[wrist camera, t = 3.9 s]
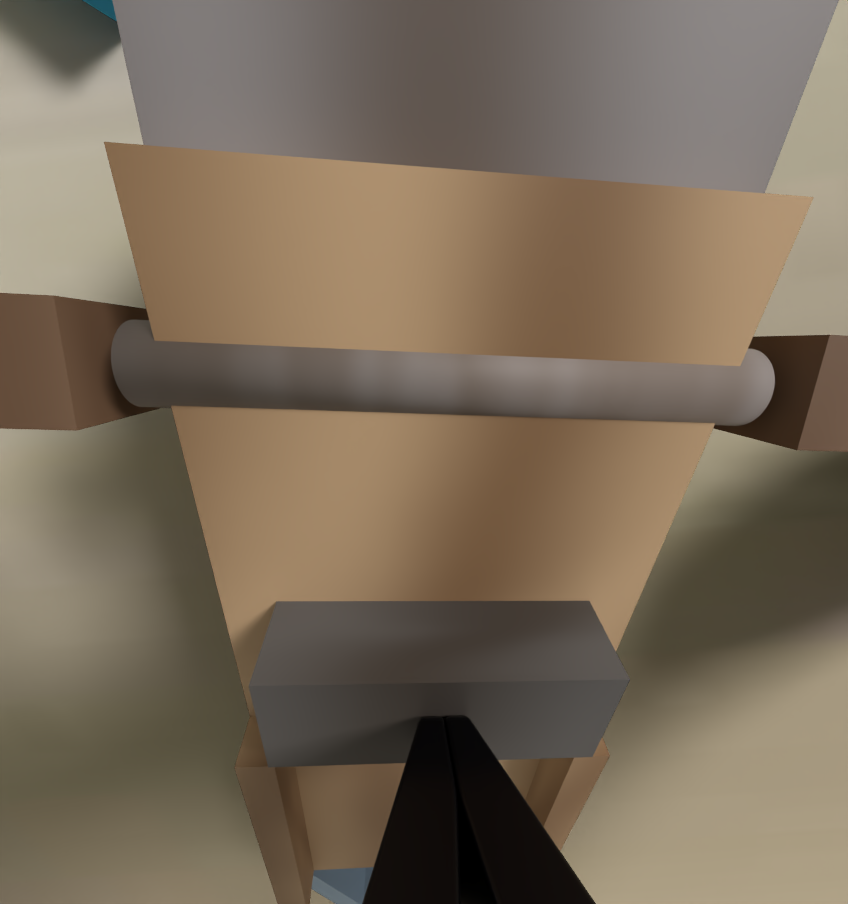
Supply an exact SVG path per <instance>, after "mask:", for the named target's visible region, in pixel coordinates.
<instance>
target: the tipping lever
mask: <svg viewBox="0 0 848 904" xmlns="http://www.w3.org/2000/svg"><path fill="white" fill-rule="evenodd" d="M112 1H113V6H114V10H115V15H116V20H117V24H118V29H119V33H120V38H121V43H122V47H123V52H124V56H125V61H126V66H127V70H128V75H129V79H130V84H131V89H132V93H133V98H134V102H135V107H136V112H137V116H138V121H139V125H140V130H141V135H142V139H143V144H144V145H137V144H124V143H111V142H104V144H105V148H106V152H107V156H108V160H109V164H110V168H111V172H112V176H113V180H114V183H115V187H116V191H117V195H118V199H119V203H120V207H121V211H122V215H123V219H124V223H125V227H126V231H127V235H128V239H129V242H130V246H131V250H132V254H133V258H134V262H135V266H136V270H137V274H138V278H139V282H140V286H141V290H142V294H143V298H144V302H145V305H146V309H147V313H148V317H149V320H128V321H126V322H124V323H123V324H121V326H120V327H119V328H118V329H117V331H116V333H115V335H114V338H113V342H112V347H111V364H112V371H113V375H114V378H115V381H116V384H117V386H118V388H119V390H120V391H121V393H122V394H123V396H124V397H125V398H126V399H127V400H128V401H129V402H130V403H132V404H133V405H135V406H138V407H160V408H172V412H173V416H174V420H175V423H176V427H177V431H178V435H179V439H180V443H181V447H182V451H183V455H184V459H185V463H186V467H187V471H188V475H189V479H190V482H191V486H192V490H193V494H194V498H195V502H196V506H197V510H198V514H199V518H200V522H201V526H202V530H203V534H204V538H205V542H206V545H207V549H208V553H209V557H210V561H211V565H212V569H213V573H214V577H215V581H216V585H217V589H218V593H219V597H220V601H221V604H222V608H223V612H224V616H225V620H226V624H227V628H228V632H229V636H230V640H231V644H232V648H233V652H234V656H235V660H236V663H237V667H238V671H239V675H240V679H241V683H242V687H243V691H244V695H245V699H246V703H247V707H248V711H249V715H250V718H249V721H248V725H247V728H246V731H245V734H244V738H243V741H242V744H241V747H240V751H239V754H238V757H237V760H236V764H235V767H234V768H235V771H236V775H237V778H238V781H239V784H240V787H241V790H242V793H243V796H244V800H245V803H246V806H247V809H248V812H249V815H250V818H251V821H252V825H253V828H254V831H255V834H256V837H257V840H258V843H259V846H260V850H261V853H262V856H263V859H264V862H265V865H266V868H267V872H268V875H269V878H270V881H271V884H272V887H273V890H274V893H275V897H276V900H277V903H278V904H309V903H310V896H311V888H312V881H313V873H314V870H328V869H347V868H367V867H374V864H375V861H376V857H377V854H378V851H379V848H380V845H381V841H382V838H383V835H384V832H385V828H386V825H387V822H388V819H389V815H390V812H391V809H392V806H393V803H394V799H395V796H396V793H397V790H398V786H399V783H400V780H401V777H402V773H403V770H404V767H405V764H406V760H407V757H408V754H409V751H410V748H411V744H412V741H413V738H414V735H415V731H416V728H417V725H418V722H419V720H420V718H422V717H436V716H440V717H442V718H443V719H445V718H446V717H447V716H467V717H469V718H470V720H471V721H472V722H473V724H474V725H475V727H476V728H477V730H478V731H479V733H480V734H481V736H482V737H483V739H484V740H485V742H486V743H487V745H488V746H489V747H490V749H491V750H492V752H493V753H494V755H495V756H496V758H497V759H498V761H499V762H500V764H501V765H502V767H503V768H504V770H505V771H506V772H507V774H508V775H509V777H510V778H511V780H512V781H513V783H514V784H515V786H516V787H517V789H518V790H519V792H520V793H521V795H522V796H523V797H524V799H525V800H526V802H527V803H528V805H529V806H530V808H531V809H532V811H533V812H534V814H535V815H536V817H537V818H538V820H539V821H540V822H541V824H542V825H543V827H544V828H545V830H546V831H547V833H548V834H549V836H550V837H551V839H552V840H553V842H554V843H555V845H556V846H557V847H558V849H559V850H561V848H562V846H563V845H564V843H565V841H566V839H567V837H568V835H569V833H570V831H571V829H572V827H573V825H574V823H575V822H576V820H577V818H578V816H579V814H580V812H581V810H582V808H583V806H584V804H585V802H586V801H587V799H588V797H589V795H590V793H591V791H592V789H593V787H594V785H595V783H596V781H597V779H598V778H599V776H600V774H601V772H602V770H603V768H604V766H605V764H606V762H607V760H608V758H609V756H610V755H609V752H608V750H607V747H606V745H605V742H604V740H603V737H602V736H603V734H604V732H605V730H606V728H607V726H608V724H609V722H610V720H611V718H612V716H613V714H614V712H615V709H616V707H617V705H618V703H619V701H620V699H621V697H622V695H623V693H624V691H625V689H626V687H627V685H628V683H629V681H630V678H629V676H628V675H627V673H626V671H625V669H624V667H623V665H622V663H621V661H620V659H619V657H618V655H617V653H616V650H617V648H618V646H619V643H620V641H621V639H622V637H623V634H624V632H625V630H626V627H627V625H628V623H629V621H630V618H631V616H632V614H633V611H634V609H635V607H636V604H637V602H638V600H639V598H640V595H641V593H642V591H643V588H644V586H645V584H646V581H647V579H648V577H649V575H650V572H651V570H652V568H653V565H654V563H655V561H656V559H657V556H658V554H659V552H660V549H661V547H662V545H663V542H664V540H665V538H666V536H667V533H668V531H669V529H670V526H671V524H672V522H673V519H674V517H675V515H676V513H677V510H678V508H679V506H680V503H681V501H682V499H683V496H684V494H685V492H686V490H687V487H688V485H689V483H690V480H691V478H692V476H693V474H694V471H695V469H696V467H697V464H698V462H699V460H700V457H701V455H702V453H703V451H704V448H705V446H706V444H707V441H708V439H709V437H710V434H711V432H712V430H713V428H714V425H724V426H740V425H745V424H748V423H750V422H752V421H753V420H755V419H756V418H757V417H759V416H760V415H761V414H762V413H763V411H764V410H765V409H766V407H767V406H768V404H769V402H770V400H771V398H772V395H773V391H774V386H775V374H774V369H773V367H772V364H771V362H770V360H769V359H768V358H767V357H766V356H765V355H764V354H763V353H762V352H760V351H758V350H755V349H748V347H749V345H750V343H751V340H752V338H753V336H754V333H755V331H756V329H757V327H758V324H759V322H760V320H761V317H762V315H763V313H764V310H765V308H766V306H767V304H768V301H769V299H770V297H771V294H772V292H773V290H774V287H775V285H776V283H777V281H778V278H779V276H780V274H781V271H782V269H783V267H784V265H785V262H786V260H787V258H788V255H789V253H790V251H791V248H792V246H793V244H794V242H795V239H796V237H797V235H798V232H799V230H800V228H801V225H802V223H803V221H804V219H805V216H806V214H807V212H808V209H809V207H810V205H811V203H812V200H813V198H814V197H805V196H792V195H779V194H766V193H765V190H766V188H767V185H768V183H769V180H770V178H771V175H772V172H773V170H774V167H775V165H776V162H777V159H778V157H779V154H780V152H781V149H782V146H783V144H784V141H785V139H786V136H787V133H788V131H789V128H790V126H791V123H792V120H793V118H794V115H795V113H796V110H797V107H798V105H799V102H800V100H801V97H802V94H803V92H804V89H805V87H806V84H807V81H808V79H809V76H810V74H811V71H812V68H813V66H814V63H815V61H816V58H817V55H818V53H819V50H820V48H821V45H822V42H823V40H824V37H825V35H826V32H827V29H828V27H829V24H830V22H831V19H832V16H833V14H834V11H835V9H836V6H837V3H838V1H839V0H112Z"/></svg>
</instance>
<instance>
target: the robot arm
mask: <svg viewBox="0 0 848 904" xmlns="http://www.w3.org/2000/svg"><path fill="white" fill-rule="evenodd" d="M362 904H596V903H595V902H594V900H593V899H592V897H591V896H590V895H589V893H588V892H587V890H586V889H585V887H584V886H583V884H582V883H581V881H580V880H579V878H578V877H577V875H576V874H575V872H574V871H573V870H572V868H571V867H570V865H569V864H568V862H567V861H566V859H565V858H564V856H563V855H562V853H561V852H560V850H559V849H558V847H557V846H556V845H555V843H554V842H553V840H552V839H551V837H550V836H549V834H548V833H547V831H546V830H545V828H544V827H543V825H542V824H541V822H540V821H539V820H538V818H537V817H536V815H535V814H534V812H533V811H532V809H531V808H530V806H529V805H528V803H527V802H526V800H525V799H524V797H523V796H522V795H521V793H520V792H519V790H518V789H517V787H516V786H515V784H514V783H513V781H512V780H511V778H510V777H509V775H508V774H507V772H506V771H505V770H504V768H503V767H502V765H501V764H500V762H499V761H498V759H497V758H496V756H495V755H494V753H493V752H492V750H491V749H490V747H489V746H488V745H487V743H486V742H485V740H484V739H483V737H482V736H481V734H480V733H479V731H478V730H477V728H476V727H475V725H474V724H473V722H472V721H471V720H470V718H469V717H467V716H447V717H446V718H445V719H443V718H442V717H440V716H436V717H422V718H420V720H419V722H418V725H417V728H416V731H415V735H414V738H413V741H412V744H411V748H410V751H409V754H408V757H407V760H406V764H405V767H404V770H403V773H402V777H401V780H400V783H399V786H398V790H397V793H396V796H395V799H394V803H393V806H392V809H391V812H390V815H389V819H388V822H387V825H386V828H385V832H384V835H383V838H382V841H381V845H380V848H379V851H378V854H377V857H376V861H375V864H374V867H373V870H372V874H371V877H370V880H369V883H368V887H367V890H366V893H365V896H364V900H363V903H362Z"/></svg>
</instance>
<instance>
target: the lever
mask: <svg viewBox="0 0 848 904" xmlns="http://www.w3.org/2000/svg"><path fill="white" fill-rule="evenodd" d="M83 1H84V2H86V3H87V4H89V5H91V6H92V7H94V8H95V9H97V10H99V11H100V12H102V13H103V14H105V15H107V16H108V17H110V18H111V19H113V20H115V21H116V22H117V20H116V15H115V10H114V6H113V1H112V0H83Z"/></svg>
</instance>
